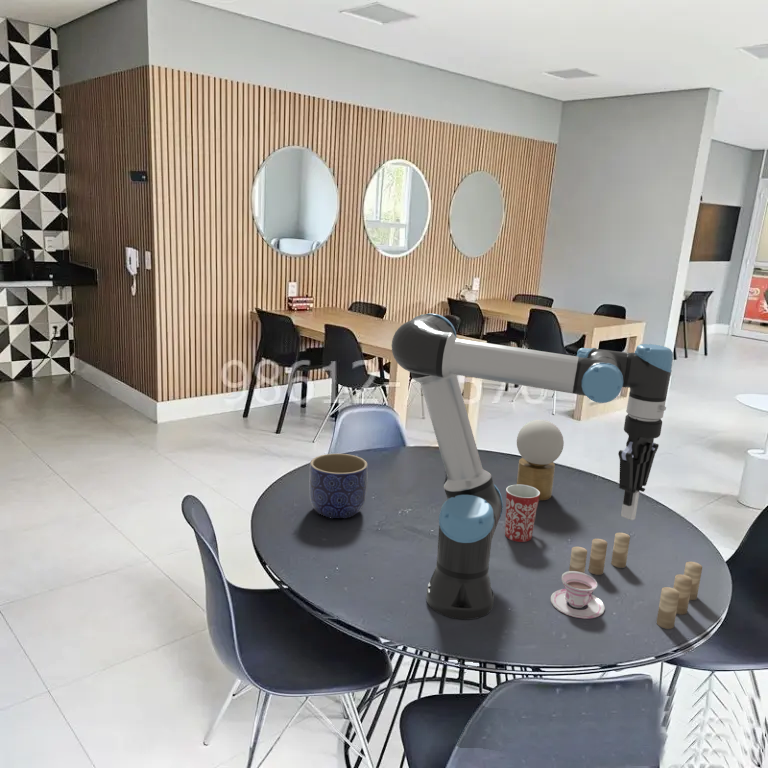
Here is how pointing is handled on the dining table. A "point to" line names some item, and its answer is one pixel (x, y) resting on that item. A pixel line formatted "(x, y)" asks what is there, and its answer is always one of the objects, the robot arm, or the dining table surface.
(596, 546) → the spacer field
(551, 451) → the lamp
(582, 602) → the teacup
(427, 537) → the dining table surface
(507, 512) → the mug
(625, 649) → the dining table surface
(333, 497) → the planter
